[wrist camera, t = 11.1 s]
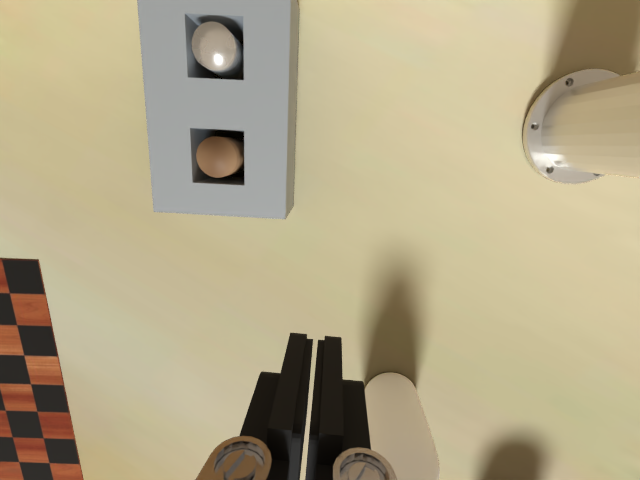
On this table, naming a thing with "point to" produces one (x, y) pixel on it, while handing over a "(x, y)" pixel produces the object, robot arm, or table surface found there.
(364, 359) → the table surface
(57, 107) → the table surface
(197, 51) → the steel peg
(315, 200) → the table surface
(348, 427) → the robot arm
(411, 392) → the milk bottle
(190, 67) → the socket board
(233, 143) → the brown rounded cylinder
